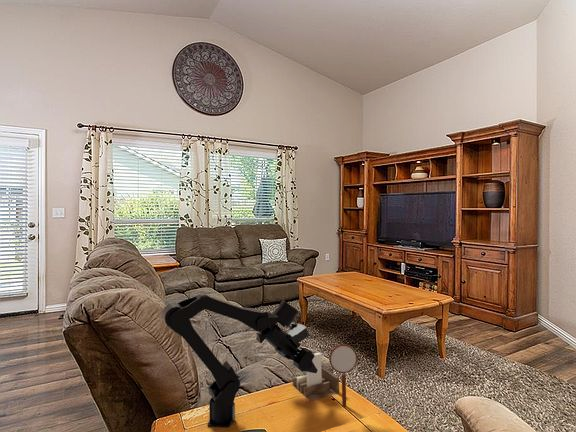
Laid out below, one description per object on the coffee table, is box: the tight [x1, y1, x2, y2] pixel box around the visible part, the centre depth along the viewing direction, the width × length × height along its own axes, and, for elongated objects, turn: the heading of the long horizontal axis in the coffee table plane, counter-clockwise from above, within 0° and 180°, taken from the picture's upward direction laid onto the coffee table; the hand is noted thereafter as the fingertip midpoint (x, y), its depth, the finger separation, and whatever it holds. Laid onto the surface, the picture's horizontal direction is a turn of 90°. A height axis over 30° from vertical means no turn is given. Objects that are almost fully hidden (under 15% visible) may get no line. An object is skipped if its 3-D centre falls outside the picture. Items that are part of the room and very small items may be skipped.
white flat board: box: [306, 352, 322, 387], centre depth 114 cm, size 5×1×12 cm, turn 116°
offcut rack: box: [291, 365, 340, 402], centre depth 115 cm, size 11×13×6 cm
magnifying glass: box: [329, 343, 358, 408], centre depth 104 cm, size 9×2×20 cm, turn 94°
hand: (309, 366), depth 113 cm, fingers open, 9 cm apart
